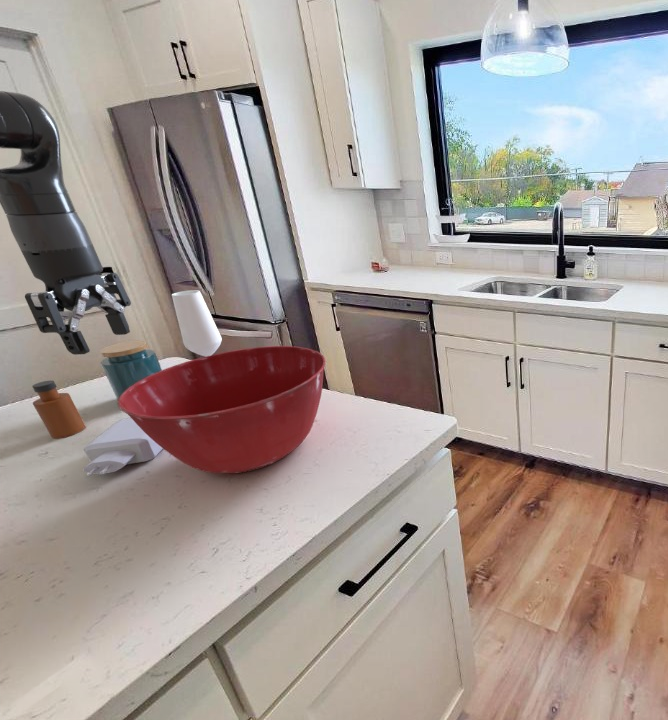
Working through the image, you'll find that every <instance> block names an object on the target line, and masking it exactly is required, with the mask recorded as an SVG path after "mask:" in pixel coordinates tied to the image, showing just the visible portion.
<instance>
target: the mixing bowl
mask: <svg viewBox="0 0 668 720" xmlns="http://www.w3.org/2000/svg"><path fill="white" fill-rule="evenodd" d="M326 362H327V361H326V357H325V356H324V355H323V354H322V353H321V352H319V351H318V350H315V349H311V348H307V347H303V346H302V347H301V346H291V345H274V346H273V345H270V346H257V347H250V348H241V349H235V350H230V351H224V352H221V353H220V352H219V353H214V354H212V355H210V356H206V357H205V356H202V357H198V358H195V359H192V360H188V361H185V362H184V361H183V362H181V363H178V364H175V365H172V366H170V367H166V368H163V369H162V370H161V371H159V372H157V373H154V374H152V375H150V376H148V377H146V378H144V379H142V380H140V381H139V382H137V383H135V384H134V385H132V386H130V387H129V388H128V389H127V390H125V391H124V392H123V393H122V395H121V396H120V397H119V400H117V405H118V408H119V409H120V410H121V412H123V413H125V414H126V415H128V416H129V418H132V419H133V421H134V422H135V423H136V424H137V425H138V426H139V427H140V428H141V429H142V430H143V431H144V432H145V433H146V434H147V435H148V436H149V437H150V438H151V439H152V440H153V441H154V442H156V443H157V444H158V445H159V446H161V447H162V448H163V449H162V450H164V451H165V452H167V453H168V454H170V455H171V456H172V457H174V458H175V459H177V460H178V461H180V462H181V463H183V464H185V465H187V466H189V467H191V468H193V469H195V470H199V471H202V472H206V473H214V474H242V472H243V473H247V471H248V472H252V471H255V470H254V469H256V470H259V469H262V468H265V467H267V465H268V466H270V465H272V464H274V463H276V461H277V462H278V460H279V461H280V460H282V459H283V458H286V457H287V456H288V455H289V454H290V453H291V452H292V451H294V450H295V449H296V448H298V447H299V446H300V445H301V444H302V443H303V442H304V441H305V439H306V438H307V436H308V435H309V434H310V432H311V430H312V428H313V426H314V422H315V420H316V417H317V414H318V410H319V406H320V403H321V398H322V391H323V385H324V384H323V383H324V369H325V367H326ZM287 454H288V455H287ZM281 458H282V459H281ZM264 466H265V467H264ZM258 468H259V469H258ZM251 470H252V471H251Z"/></svg>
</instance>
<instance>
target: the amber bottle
mask: <svg viewBox="0 0 668 720" xmlns="http://www.w3.org/2000/svg"><path fill="white" fill-rule="evenodd" d="M31 388H32V389H33V391H34V392H35V393H37V394H38V397H39V398H37V399H36V400H34V401H33V402H32V405H33V407H34V409H35V411H36V412H37V414H38V416H39V418H40V420H41V422H42V423H43V425H44V427H45V428H46V430H47V432H48V433H49V435H50V437H51V438H52V439H62V438H63V439H64V438H67V437H71V436H74V435H76V434H79V433H81V432H82V431H84V430H85V429H86V428H87V426H86V424H85V422H84V420H83V417H82V416H81V414H80V412H79V410H78V408H77V406H76V405H75V403H74V400H73V398H72V397H71V395H70V393H69V392H59V391H58V389H57V388H58V387H57V384H56V382H55V380H44V381H40V382H37V383H34V384H33V385H32V386H31Z"/></svg>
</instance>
